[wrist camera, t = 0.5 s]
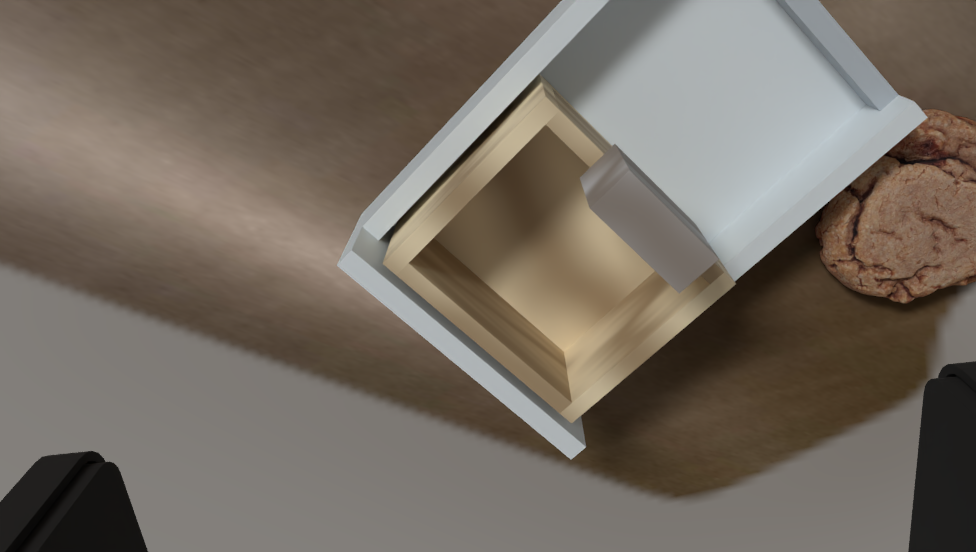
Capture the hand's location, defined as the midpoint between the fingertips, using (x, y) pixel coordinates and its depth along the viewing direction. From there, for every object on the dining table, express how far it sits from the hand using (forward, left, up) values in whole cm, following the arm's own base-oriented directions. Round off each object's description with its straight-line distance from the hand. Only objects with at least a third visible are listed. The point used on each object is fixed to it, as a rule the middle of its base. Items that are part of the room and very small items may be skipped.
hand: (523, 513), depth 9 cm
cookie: (-10, +20, -32) cm, 39 cm away
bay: (-1, +7, -32) cm, 32 cm away
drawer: (+3, +7, -31) cm, 32 cm away
